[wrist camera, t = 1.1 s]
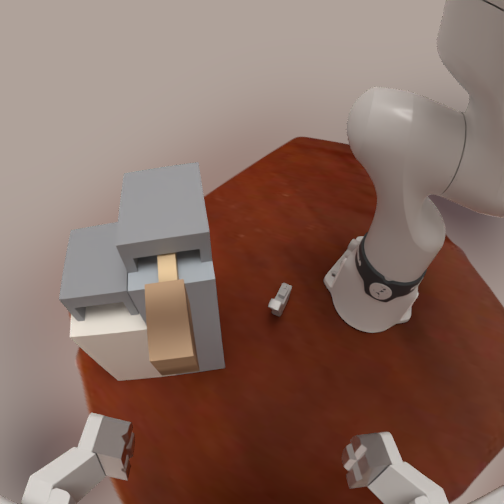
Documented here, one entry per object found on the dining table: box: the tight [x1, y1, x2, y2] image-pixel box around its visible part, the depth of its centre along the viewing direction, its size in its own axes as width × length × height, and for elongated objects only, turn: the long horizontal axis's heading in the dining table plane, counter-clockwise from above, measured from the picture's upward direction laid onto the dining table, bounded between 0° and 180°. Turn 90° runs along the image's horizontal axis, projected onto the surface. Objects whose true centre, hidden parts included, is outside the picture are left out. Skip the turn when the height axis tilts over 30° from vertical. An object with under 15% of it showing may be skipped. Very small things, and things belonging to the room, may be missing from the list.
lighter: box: [268, 283, 292, 317], centre depth 52 cm, size 7×2×8 cm, turn 154°
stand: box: [59, 162, 225, 381], centre depth 39 cm, size 12×18×30 cm, turn 102°
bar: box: [145, 252, 200, 376], centre depth 26 cm, size 17×3×4 cm, turn 12°
